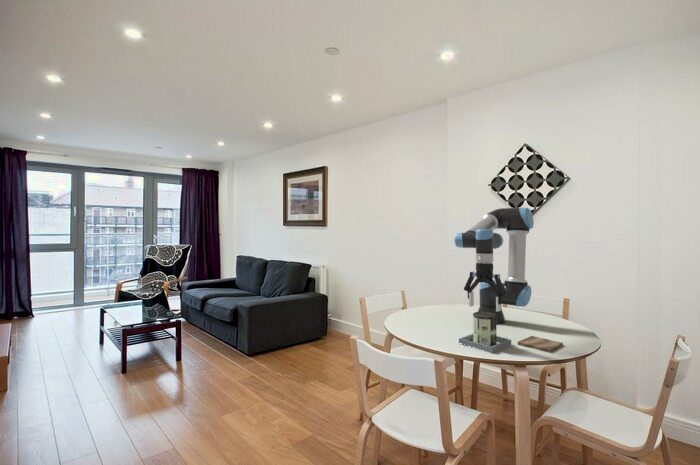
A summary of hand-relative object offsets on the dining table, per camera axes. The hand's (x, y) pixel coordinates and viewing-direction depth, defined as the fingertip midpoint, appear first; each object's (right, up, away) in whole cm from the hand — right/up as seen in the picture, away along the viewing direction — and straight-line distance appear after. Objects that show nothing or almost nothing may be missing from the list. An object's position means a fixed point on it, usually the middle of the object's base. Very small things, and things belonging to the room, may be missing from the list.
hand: (484, 308), depth 167 cm
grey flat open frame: (0, -17, +1) cm, 17 cm away
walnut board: (+25, -16, -1) cm, 30 cm away
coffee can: (0, -17, +1) cm, 17 cm away
